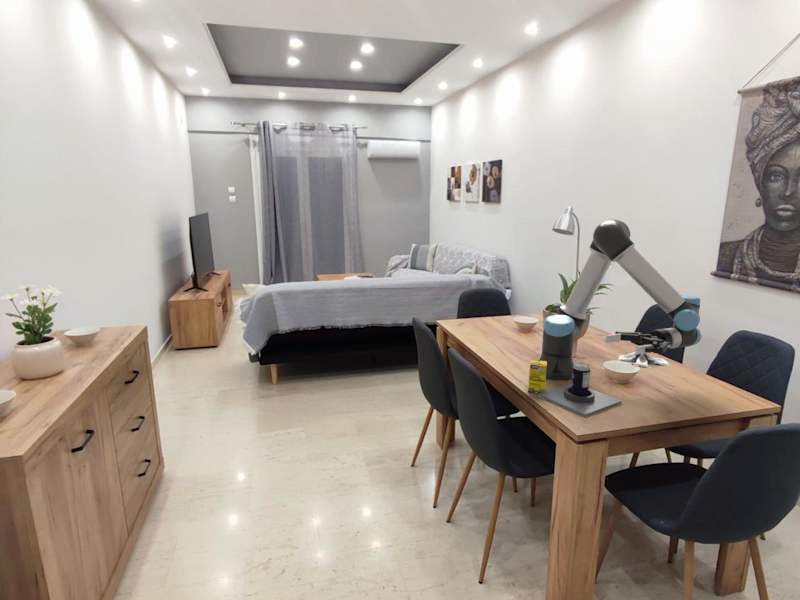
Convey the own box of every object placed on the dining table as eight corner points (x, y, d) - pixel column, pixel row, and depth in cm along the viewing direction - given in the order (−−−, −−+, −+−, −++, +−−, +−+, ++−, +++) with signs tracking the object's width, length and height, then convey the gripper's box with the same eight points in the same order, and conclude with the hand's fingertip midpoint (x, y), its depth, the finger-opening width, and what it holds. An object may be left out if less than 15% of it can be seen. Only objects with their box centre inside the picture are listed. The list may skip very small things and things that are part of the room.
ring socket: (537, 396, 170) (538, 388, 169) (573, 385, 181) (574, 377, 180) (585, 417, 154) (585, 408, 153) (621, 403, 164) (622, 395, 163)
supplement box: (527, 392, 174) (529, 364, 171) (528, 386, 179) (530, 359, 177) (544, 394, 172) (546, 365, 170) (545, 388, 177) (547, 360, 175)
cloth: (677, 365, 204) (678, 352, 202) (648, 372, 196) (650, 358, 194) (631, 351, 223) (633, 338, 222) (604, 356, 215) (605, 344, 214)
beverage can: (583, 393, 170) (586, 362, 167) (590, 400, 164) (593, 367, 162) (568, 394, 169) (570, 362, 167) (574, 400, 164) (577, 367, 161)
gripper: (694, 359, 164) (649, 366, 157) (635, 339, 187) (594, 344, 179) (697, 338, 163) (652, 344, 155) (638, 320, 185) (596, 325, 177)
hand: (621, 344), depth 167 cm, fingers open, 13 cm apart
